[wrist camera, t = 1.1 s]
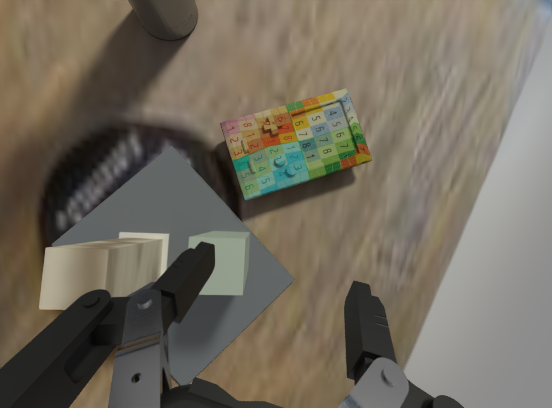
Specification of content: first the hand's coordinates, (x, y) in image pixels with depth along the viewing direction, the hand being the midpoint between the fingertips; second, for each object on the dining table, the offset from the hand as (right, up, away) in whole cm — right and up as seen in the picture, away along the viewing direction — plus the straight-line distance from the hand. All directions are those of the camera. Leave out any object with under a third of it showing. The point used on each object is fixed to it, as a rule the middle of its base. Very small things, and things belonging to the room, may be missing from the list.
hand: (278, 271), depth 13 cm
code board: (-15, -5, +21) cm, 26 cm away
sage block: (-7, -3, +21) cm, 22 cm away
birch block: (-20, -4, +20) cm, 28 cm away
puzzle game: (+3, +13, +24) cm, 27 cm away
